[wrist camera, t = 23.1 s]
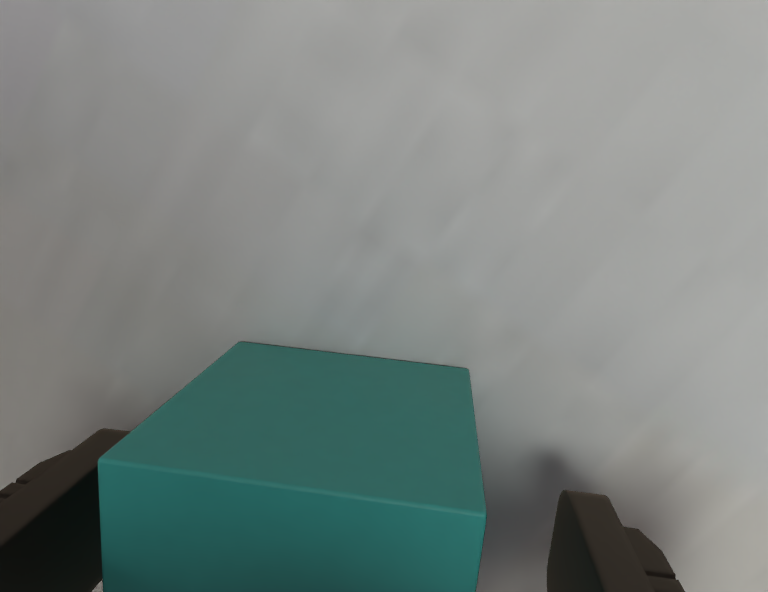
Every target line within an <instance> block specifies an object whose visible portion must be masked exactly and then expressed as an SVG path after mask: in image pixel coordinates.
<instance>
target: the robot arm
mask: <svg viewBox="0 0 768 592" xmlns="http://www.w3.org/2000/svg"><path fill="white" fill-rule="evenodd" d="M129 433H130V432H129V431H121V430H114V429H106V428H104V429H100V430H99V431H97V432H96V433H94V434H93V435H92V436H90V437H89V438H87V439H86V440H85V441H83V442H82V443H81V444H79V445H78V446H77V447H75V448H74V449H73V450H69V451H66V452H64V453H61V454H59V455H57V456H54V457H52V458H50V459H47V460H45V461H43V462H40V463H39V464H37V465H36V466H34V467H33V468H32V469H30V470H29V471H27V472H26V473H25V474H23V475H22V476H20V477H19V478H18V479H17V480H16V483H11V484H9V485H8V486H6V487H5V488H4V489H2V490H1V491H0V592H91V591H92V590H93V589H94V588H95V587H96V586H97V584H98V583H99V582H100V581H101V580H102V554H101V530H100V507H99V483H98V460H99V458H100V457H101V456H102V455H103V454H105V453H106V452H107V451H108V450H109V449H111V448H112V447H113V446H114V445H115V444H117V443H118V442H119V441H120V440H121V439H123V438H124V437H125V436H126V435H127V434H129ZM547 592H685V591H684V589H683V588H682V586H681V584H680V582H679V580H676V579H675V573H674V572H673V570H672V568H671V566H670V565H669V563H668V561H667V559H666V558H665V556H664V554H663V552H662V551H661V550H660V549H659V548H658V547H657V546H656V545H655V544H654V543H653V542H652V541H650V540H649V539H648V538H647V537H646V536H645V535H644V534H643V533H642V532H641V531H640V530H639V529H635V528H628V527H623V526H622V524H621V522H620V520H619V518H618V516H617V514H616V512H615V510H614V508H613V506H612V504H611V502H610V500H609V498H608V497H607V496H605V495H599V494H592V493H584V492H577V491H569V490H563V491H562V492H561V494H560V497H559V501H558V506H557V512H556V518H555V524H554V529H553V535H552V541H551V547H550V553H549V558H548V565H547Z"/></svg>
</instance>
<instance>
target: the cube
mask: <svg viewBox="0 0 768 592" xmlns="http://www.w3.org/2000/svg"><path fill="white" fill-rule="evenodd" d="M98 483H99V507H100V530H101V554H102V578H103V592H476V586H477V580H478V573H479V566H480V560H481V553H482V546H483V539H484V533H485V526H486V519H487V511H486V503H485V495H484V487H483V479H482V471H481V463H480V455H479V447H478V439H477V431H476V423H475V415H474V407H473V399H472V391H471V383H470V375H469V370H468V369H466V368H457V367H449V366H440V365H432V364H424V363H415V362H407V361H399V360H390V359H382V358H373V357H365V356H357V355H348V354H340V353H331V352H323V351H315V350H306V349H298V348H290V347H281V346H273V345H264V344H256V343H248V342H238V343H237V344H236V345H235V346H233V347H232V348H231V349H230V350H229V351H227V352H226V353H225V354H224V355H223V356H221V357H220V358H219V359H218V360H216V361H215V362H214V363H213V364H212V365H210V366H209V367H208V368H207V369H206V370H204V371H203V372H202V373H201V374H200V375H198V376H197V377H196V378H195V379H194V380H192V381H191V382H190V383H189V384H188V385H186V386H185V387H184V388H183V389H182V390H180V391H179V392H178V393H177V394H176V395H174V396H173V397H172V398H171V399H170V400H168V401H167V402H166V403H165V404H164V405H162V406H161V407H160V408H159V409H158V410H156V411H155V412H154V413H153V414H152V415H150V416H149V417H148V418H147V419H146V420H144V421H143V422H142V423H141V424H140V425H138V426H137V427H136V428H135V429H133V430H132V431H131V432H130V433H129V434H127V435H126V436H125V437H124V438H123V439H121V440H120V441H119V442H118V443H117V444H115V445H114V446H113V447H112V448H111V449H109V450H108V451H107V452H106V453H105V454H103V455H102V456H101V457H100V458H99V460H98Z"/></svg>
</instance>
